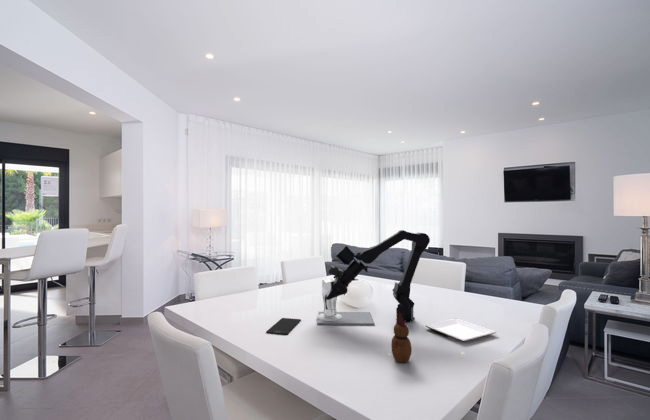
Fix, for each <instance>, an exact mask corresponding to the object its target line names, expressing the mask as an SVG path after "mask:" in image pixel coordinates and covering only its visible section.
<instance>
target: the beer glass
mask: <svg viewBox="0 0 650 420" xmlns="http://www.w3.org/2000/svg"><path fill="white" fill-rule="evenodd" d="M335 281H336V280H335V279H334V278H328V279H323V280H321V296H322V301H323V311H322V312H323V315H324V316H328V317H331V316H336V315H337V312H338V311H337V300H338V296H337V297H334V298H332V299H329V300H327V299H326V298H327V296H328V295H329V293H330V292H331V290H332V289H333V283H334V282H335Z"/></svg>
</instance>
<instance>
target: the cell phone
mask: <svg viewBox="0 0 650 420" xmlns="http://www.w3.org/2000/svg"><path fill="white" fill-rule="evenodd" d="M300 322H302V320H301V318H288V317H281V318H280V319H279V320H278V321H277V322H276V323H274V324H273V325H272V326H271V327H270V328H269V329H268V330H266V331H265V334H269V335H270V334H271V335H278V336H279V335H280V336H288V335H289V334H290V333H291V332H292V331H293V330H294V329H295V328H296V327H297V326H298V325H299V324H300Z"/></svg>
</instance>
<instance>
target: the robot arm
mask: <svg viewBox="0 0 650 420" xmlns="http://www.w3.org/2000/svg"><path fill="white" fill-rule="evenodd" d="M404 240H405V241H410V242H411V251H410V254H409V257H408V260H407V262H406V266H405V268H404V271H403V273H402V277H401V279H400V281H399V282H394V287H393V288H392V289H391V290H392V296H393V298H394V299H395V300H396V302H397V303H398V304H397V306H396V308H395V309H396V310H395V311H396V316H395V317H396V319H395V320H397V311H398V314H399V317H400V314H401V318H403V321H405V323H407V322H408V323H411V322H412V321H414V320H415V319H416V318H415V317H414V306H415V302H414V301H413V300H412V299H411V298H410V295H411V284H412V281H413V278H414V275H415V273H416V270H417V267H418V264H419V262H420V259H421V256H422V254H423V253H424V251H425V250H426V249H427V247H428V246H429V244H430V241H431V239H430V236H429V235H428V234H426V233H425V232H424V233H423V232H416V233H413V232H410V231H406V230H403V229H401V230H398V231H397V232H396V233H394V234H393V235H391V236H389V237H388V238H386V239H385V240H383V241H381V242H380V243H378V244H376V245H373V246H370V247H367V248H365V249H363V250H361V251H360V252H353V251H352V250H351V249H350V247H348V245H345V246H344V247H342V248H341V249H340V250H338V252H337V253H336V254H335V257H336V258H337V260H339V261H340V262H341V263H342V264H343V265H347V267H346V268H343V269H341V268H339V267H337V266H334V265H332V264H331V265H330V267H329V269H328V272H327V273H328V274H329V275H333V279H335V280H336V281H335V282H334V283H333V289H332V290H331V292H330V293H329V295H328V296H327V298H326V299H327V300H329V299H332V298H334V297H337V298H338V297H340V296H345V295H346V294H347V293H348V287H349V285H350V284H351V283H352V282H353V281H355V279H356V278H357V276H359V274H361V272H363V271H365V273H368V272H369V270H368V267H369V266H368V265H369V264H371V263H373V262H375V260H376V259H378V257H379V256H380V255H382V254H383V253H384V252H386V251H388V250H389V249H391V248H392V247H394V246H395V245H397V244H399V243H400V242H402V241H404ZM365 264H366V265H365Z"/></svg>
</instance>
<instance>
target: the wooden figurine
mask: <svg viewBox="0 0 650 420" xmlns="http://www.w3.org/2000/svg"><path fill="white" fill-rule="evenodd" d="M396 318H397V320H396V319H395V320H396V324H394V327H393V334H394V335H393V337H392V338H391V343H390V344H391V353H392V357H393V359H394V361H396V362H399V363H400V364H401V363H403V364H404V363H407V362H409V361H410V359H411V355H412V350H413V349H412V343H411V340H410V338H409V337H408V336H409V333H410V331H409V326H408V325H407V324H406V321H403V318H401V314H400V317H399V314H398V311H397V317H396Z"/></svg>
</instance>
